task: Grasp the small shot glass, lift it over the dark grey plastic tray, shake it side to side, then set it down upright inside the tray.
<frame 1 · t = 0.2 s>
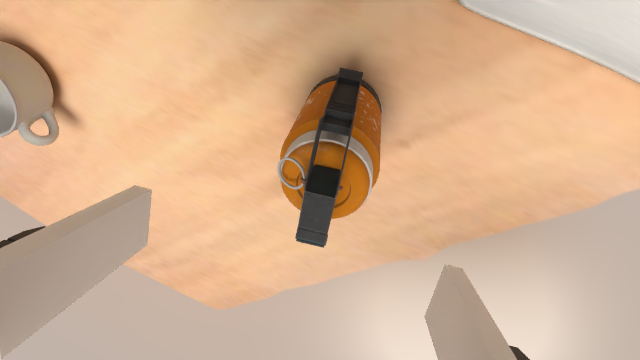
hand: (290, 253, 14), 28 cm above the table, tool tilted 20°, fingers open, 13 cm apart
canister: (345, 102, 39), on the table
teacup: (40, 84, 45), on the table
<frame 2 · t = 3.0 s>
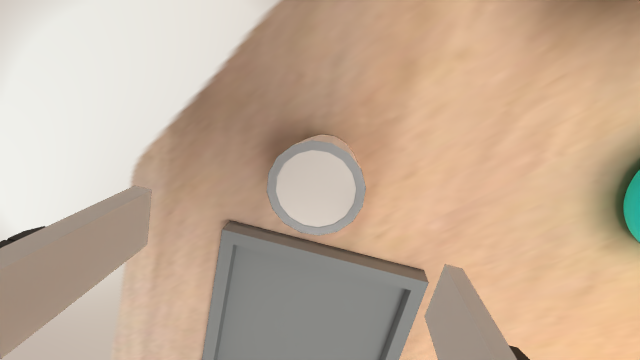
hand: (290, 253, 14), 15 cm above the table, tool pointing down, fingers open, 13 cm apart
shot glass: (324, 165, 29), on the table
tray: (305, 324, 34), on the table
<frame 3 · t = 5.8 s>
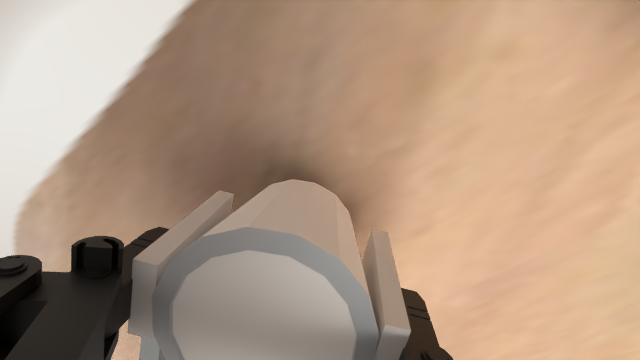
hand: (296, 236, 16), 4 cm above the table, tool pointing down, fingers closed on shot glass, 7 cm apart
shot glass: (298, 232, 17), point 3 cm above the table, touching gripper
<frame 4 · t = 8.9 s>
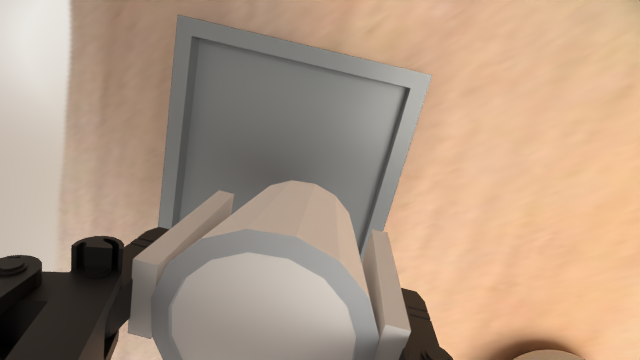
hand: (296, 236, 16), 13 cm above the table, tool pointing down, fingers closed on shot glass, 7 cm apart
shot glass: (297, 233, 16), point 12 cm above the table, touching gripper
tray: (283, 162, 28), on the table
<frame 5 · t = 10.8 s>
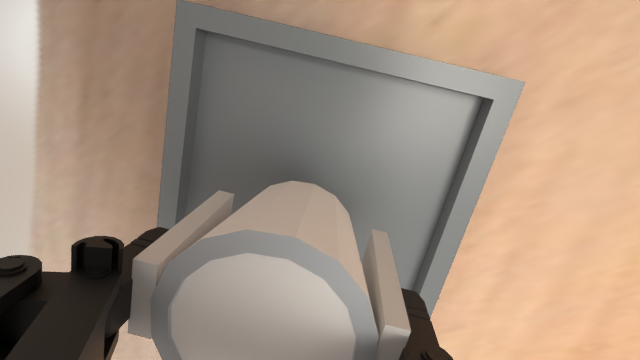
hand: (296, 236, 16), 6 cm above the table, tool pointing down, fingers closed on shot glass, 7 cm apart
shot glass: (297, 233, 16), point 6 cm above the table, touching gripper
tray: (313, 192, 22), on the table
when the fingers open (1 cm above the table, at t = 12.1 s): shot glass stays where it is, resting on tray.
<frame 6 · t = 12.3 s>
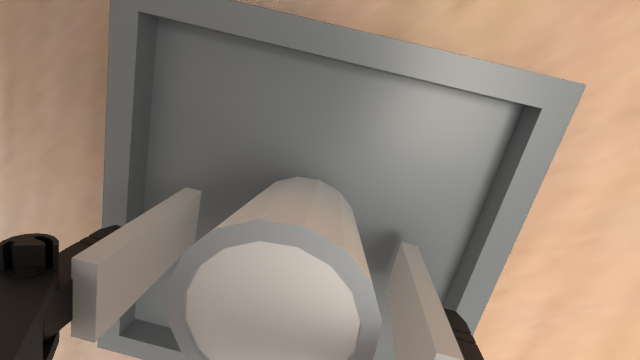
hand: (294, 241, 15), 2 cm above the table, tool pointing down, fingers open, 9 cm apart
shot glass: (302, 227, 17), resting on tray
tray: (301, 224, 17), on the table
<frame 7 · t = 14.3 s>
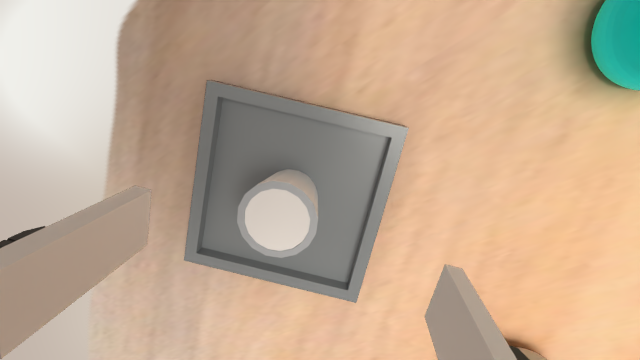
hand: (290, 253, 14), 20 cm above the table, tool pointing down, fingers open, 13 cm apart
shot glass: (290, 195, 34), resting on tray
tray: (290, 193, 35), on the table
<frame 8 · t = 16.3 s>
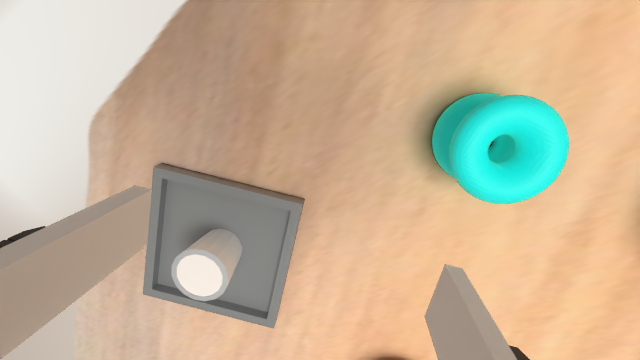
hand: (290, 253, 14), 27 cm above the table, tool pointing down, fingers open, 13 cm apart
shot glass: (222, 246, 45), resting on tray
tray: (222, 245, 45), on the table
donuts: (473, 136, 38), on the table
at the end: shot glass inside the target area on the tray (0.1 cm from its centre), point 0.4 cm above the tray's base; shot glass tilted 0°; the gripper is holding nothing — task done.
